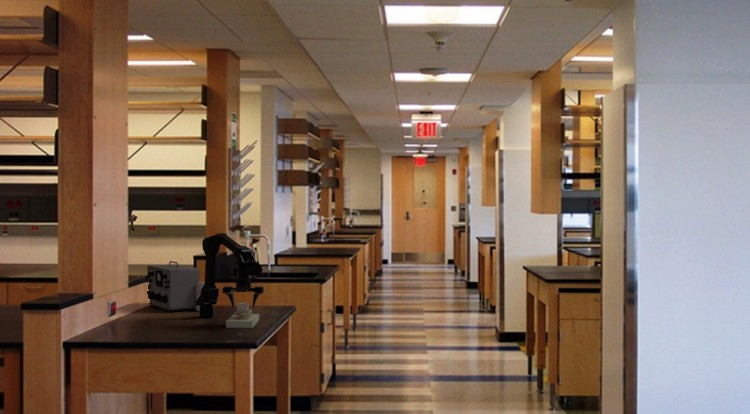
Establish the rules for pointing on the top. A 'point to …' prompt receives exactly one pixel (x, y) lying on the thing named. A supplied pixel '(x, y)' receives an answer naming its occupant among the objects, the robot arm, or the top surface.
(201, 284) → the supplement can
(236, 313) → the tall tan box
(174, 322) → the top surface
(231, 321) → the dock
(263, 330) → the top surface
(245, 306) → the box
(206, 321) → the top surface
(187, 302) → the vintage electronic device
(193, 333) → the top surface
